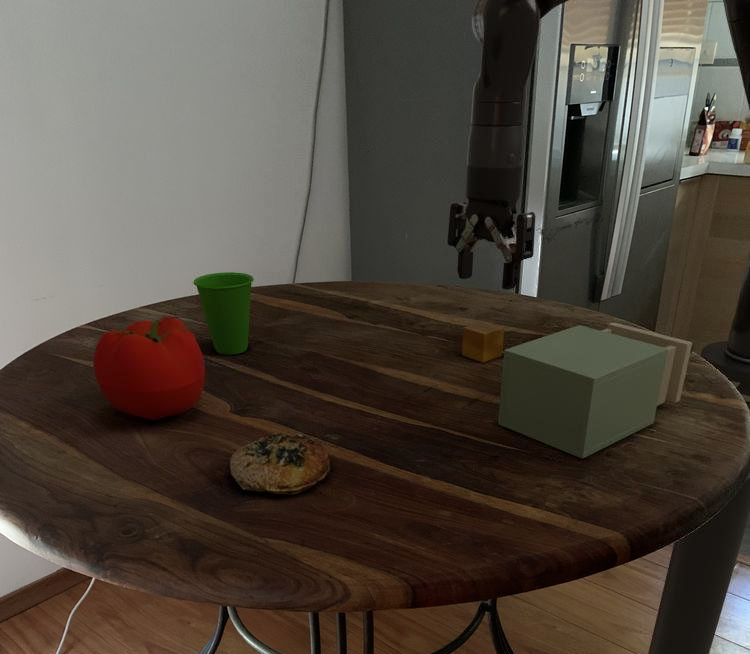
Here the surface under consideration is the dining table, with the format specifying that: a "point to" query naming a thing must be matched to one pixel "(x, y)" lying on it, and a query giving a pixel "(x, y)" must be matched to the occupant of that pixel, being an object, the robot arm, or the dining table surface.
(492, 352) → the block
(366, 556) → the dining table surface
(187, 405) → the tomato
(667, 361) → the drawer
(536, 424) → the sage green box
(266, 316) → the dining table surface
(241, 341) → the cup
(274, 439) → the bread roll
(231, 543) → the dining table surface
